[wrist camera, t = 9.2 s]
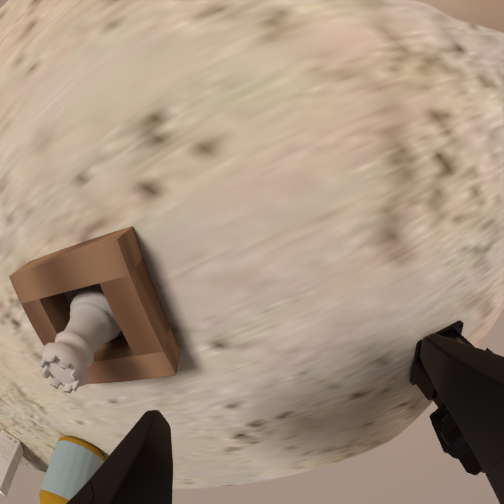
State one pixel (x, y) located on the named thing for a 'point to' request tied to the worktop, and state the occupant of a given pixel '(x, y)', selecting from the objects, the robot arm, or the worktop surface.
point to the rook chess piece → (79, 339)
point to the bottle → (69, 469)
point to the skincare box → (8, 459)
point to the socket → (119, 299)
